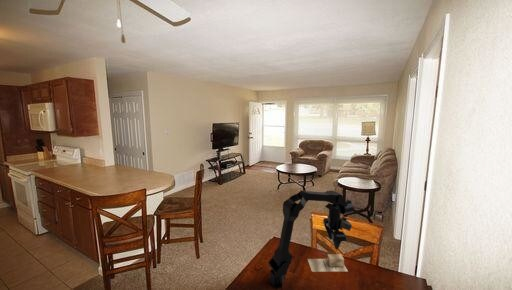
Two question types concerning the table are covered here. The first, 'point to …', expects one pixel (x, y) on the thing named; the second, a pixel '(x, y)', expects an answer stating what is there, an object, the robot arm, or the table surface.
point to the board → (323, 266)
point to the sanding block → (335, 260)
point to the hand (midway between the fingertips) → (333, 244)
